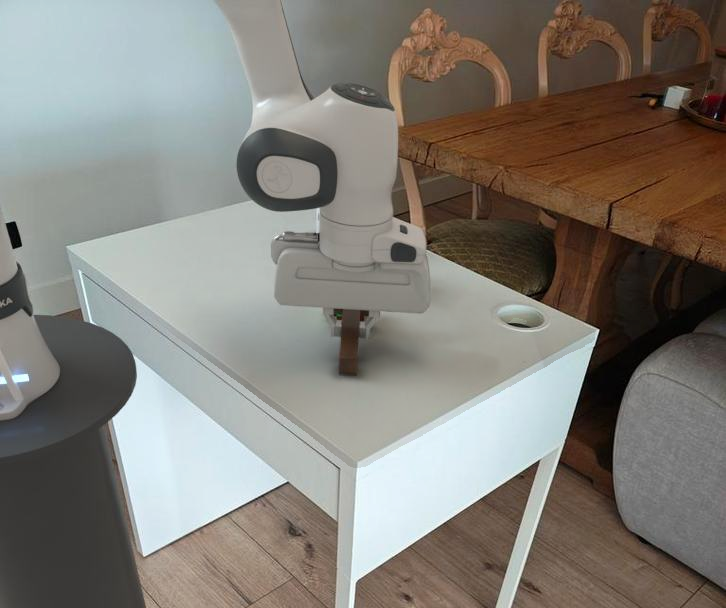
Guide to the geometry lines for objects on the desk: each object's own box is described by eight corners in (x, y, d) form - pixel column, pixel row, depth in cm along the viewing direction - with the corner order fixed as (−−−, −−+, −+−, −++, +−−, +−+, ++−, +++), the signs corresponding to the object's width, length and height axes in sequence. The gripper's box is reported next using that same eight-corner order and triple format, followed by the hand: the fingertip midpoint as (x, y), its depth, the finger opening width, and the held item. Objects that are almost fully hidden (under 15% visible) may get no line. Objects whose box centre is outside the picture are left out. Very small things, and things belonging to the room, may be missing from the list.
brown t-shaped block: (317, 373, 93) (317, 350, 89) (323, 308, 101) (324, 285, 97) (378, 376, 93) (380, 353, 90) (379, 312, 101) (381, 288, 98)
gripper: (267, 240, 84) (270, 343, 93) (438, 251, 84) (425, 352, 94) (273, 220, 89) (276, 319, 98) (435, 230, 89) (423, 328, 98)
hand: (350, 335), depth 96 cm, fingers closed on brown t-shaped block, 2 cm apart
